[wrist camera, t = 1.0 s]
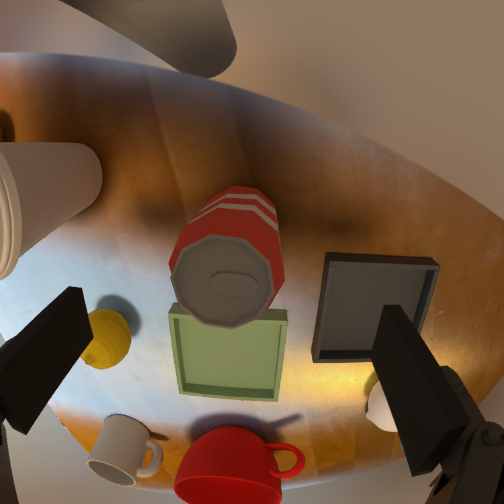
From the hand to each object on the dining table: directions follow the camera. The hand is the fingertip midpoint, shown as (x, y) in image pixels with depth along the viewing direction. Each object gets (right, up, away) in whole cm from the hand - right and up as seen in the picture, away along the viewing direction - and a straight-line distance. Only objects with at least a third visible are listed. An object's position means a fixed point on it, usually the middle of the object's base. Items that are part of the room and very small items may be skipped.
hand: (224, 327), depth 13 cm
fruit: (-13, -4, +18) cm, 23 cm away
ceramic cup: (0, -21, +24) cm, 32 cm away
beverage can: (0, +6, +14) cm, 15 cm away
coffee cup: (-16, +10, +13) cm, 23 cm away
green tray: (-1, -7, +19) cm, 20 cm away
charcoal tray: (+13, -2, +16) cm, 21 cm away
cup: (-16, -23, +26) cm, 38 cm away
